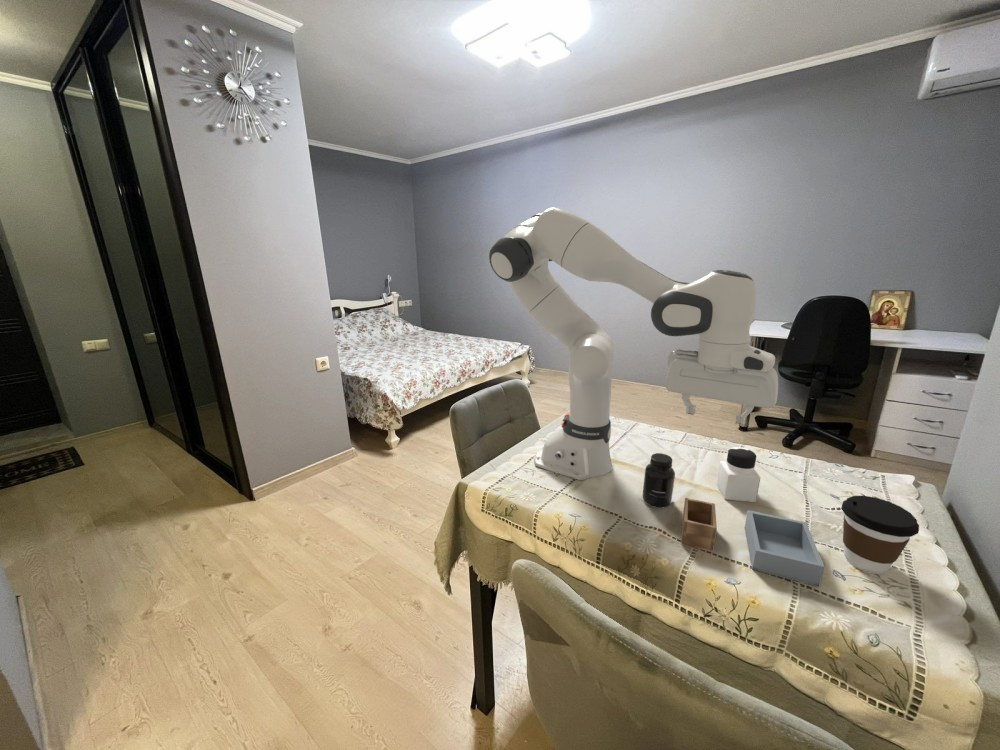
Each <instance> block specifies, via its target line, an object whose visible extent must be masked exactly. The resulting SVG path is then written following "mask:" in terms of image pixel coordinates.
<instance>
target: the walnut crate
mask: <svg viewBox="0 0 1000 750" xmlns="http://www.w3.org/2000/svg"><path fill="white" fill-rule="evenodd" d="M682 512H683V513H682V521H681V523H682V524H681V543H680V545H682V546H687V547H689V548H693V549H698V550H701V551H706V552H710V553H714V549H715V541H716V535H717V532H718V531H717V530H718V526H717V513H716V503H712V502H708V501H704V500H699V499H694V498H688V497H685V498H684V505H683V511H682Z"/></svg>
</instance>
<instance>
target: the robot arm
mask: <svg viewBox="0 0 1000 750" xmlns="http://www.w3.org/2000/svg"><path fill="white" fill-rule="evenodd" d="M488 257H489V259H488V260H489V264H490V267H491V269H492V271H493V272H494V274H495V275H496V276H497V277H498V278H499V279H501V280H502V281H505V282H508V283H510V287H511V288H512V290H513V292H514V294H515V295H516V297H517V299H518V300H519V301H520V303H521V304H522V305H523V307H524V309H526V311H527V312H528V313H529V314H530V316H531V317H533V319H534V320H535V321H536V322H537V324H538V325H539V326H540V327H541V328H542V329H543V330H544V332H546V334H547V335H548V336H550V337H551V338H554V339H555V340H556V341H557V342H558V343H559V344H561V345H562V346H563V347H564V348H566V350H568V352H569V353H568V379H569V380H568V382H569V411H568V412H566V413H565V414H564V416H563V417H564V418H563V419H562V421H561V427H560V428H559V429H557V430H556V431H554V432H552V433H551V434H550V435H548V437H547V438H546V439H545V440H544V443H543V446H541V448H540V449H539V450H538V451H537V452H536V454H535V456H534V465H535V466H536V467H538V468H541V469H545V470H548V471H550V472H554V473H557V474H559V475H562V476H566V477H569V478H572V479H575V480H578V481H584V480H587V479H589V478H595V477H600V476H604V475H607V474H608V473H610V472H611V471H612V469H613V463H612V458H611V451H610V439H611V433H612V432H611V431H612V426H611V425H612V424H611V423H612V422H611V419H610V418H611V417H610V415H611V414H610V413H611V399H612V379H613V377H612V375H613V361H614V349H615V345H614V341H613V339H612V338H611V336H610V335H609V334H608V333H607V332H606V330H604V329H603V328H602V327H601V325H599V323H597V322H596V321H595V319H593V318H592V317H591V316H590V315H589V314H588V313H587V312H586V311H584V309H582V308H581V306H580V305H579V304H578V303H577V302H576V301H575V300H574V298H572V296H571V295H570V294H569V293H568V291H567V290H566V289H565V288H564V286H562V285H561V284H560V282H559V281H558V280H556V278H555V277H554V276H553V275H552V273H551V272H550V270H549V262H554V263H555V264H557V265H558V266H559V267H561V268H562V269H563V270H565V271H567V272H568V273H570V274H572V275H574V276H576V277H579V278H581V279H583V280H585V281H589V282H598V283H599V282H600V283H611V284H615V285H621V286H623V287H626V289H628V290H631V291H633V292H634V293H636V294H637V295H639V296H640V297H642V298H644V299H645V300H647V301H649V302H651V303H652V307H651V310H650V318H651V322H652V324H653V327H654V328H655V329H656V330H657V331H658V332H660V333H661V334H663V335H665V336H669V337H683V336H692V335H699V339H698V348H697V350H684V349H675V350H673V351H671V352H669V353H668V356H667V363H666V364H667V366H668V369H667V370H668V371H667V374H666V378H665V383H664V384H665V388H666V390H667V391H668V392H671V393H677V394H681V399H682V402H683V403H684V405H685V407H686V408H685V414H686V415H692V416H693V415H695V414H696V408H697V405H696V404H693V403H692V401H691V399H690V398H691V397H692V396H694V397H700V398H705V399H706V398H707V399H711V400H717V401H721V402H722V401H723V402H728V403H734V404H739V405H740V404H741V405H743V406H744V407H743V409H744V410H745V411H744V412H743V413H739V412H738V413H737V414H736V417H735V419H736V420H735V424H737V425H742V426H745V423H746V419H747V417H748V416H749V414H751V413H752V412H753V410H754V408H755V407H757V408H764V409H772V408H773V407H774V406H775V405H776V404H777V401H778V396H779V395H778V394H779V377H778V376H779V375H778V372H777V371H776V369H775V368H774V366H775V364H776V356H775V355H774V354H773V353H770V352H767V351H766V350H762V349H760V348H756V347H754V346H752V345H750V344H751V334H750V328H751V325H752V323H753V320H754V317H755V309H756V295H757V294H756V293H757V291H756V282H755V281H754V279H753V277H751V276H749V275H748V274H747V273H744V272H743V273H742V272H739V271H735V270H734V271H733V270H726V269H724V270H723V269H715V270H712V271H710V272H709V273H708V274H706V275H705V276H703V277H700V278H699V279H696V280H694V281H691V282H685V281H684V282H683V281H677V280H673V279H671V278H670V277H667V276H666V275H664V274H662V273H661V272H659V271H657V270H656V269H654V268H653V267H651V266H649V265H648V264H646V263H643V262H642V261H641V260H639V259H637V258H636V257H635V256H633V255H632V254H631V253H630V252H628V251H627V249H625V248H624V247H622V246H621V244H619V243H618V242H616V241H615V239H613V238H612V237H611V236H609V234H607V233H606V232H605V231H603V230H602V229H600V228H599V227H597V226H596V225H595V224H593V223H591V222H590V221H589V220H586V219H585V218H583V217H581V216H579V215H576V214H575V213H572V212H570V211H567V210H565V209H562V208H559V207H550V208H547V209H546V210H544V211H543V212H540V213H537V214H534V215H532V216H531V217H530V218H528V219H527V220H524V221H523V222H520V223H519V224H518V225H516V226H515V227H513V229H511V230H510V231H509V232H508V233H507V234H505V235H504V236H502V237H501V238H499V239H498V240H497V241H496V242H495V243H494V244H493V245H492V247H491V248H490V250H489V254H488Z"/></svg>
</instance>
